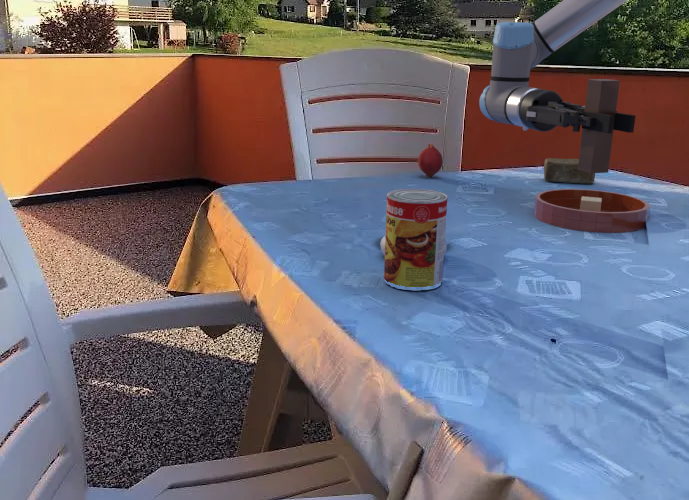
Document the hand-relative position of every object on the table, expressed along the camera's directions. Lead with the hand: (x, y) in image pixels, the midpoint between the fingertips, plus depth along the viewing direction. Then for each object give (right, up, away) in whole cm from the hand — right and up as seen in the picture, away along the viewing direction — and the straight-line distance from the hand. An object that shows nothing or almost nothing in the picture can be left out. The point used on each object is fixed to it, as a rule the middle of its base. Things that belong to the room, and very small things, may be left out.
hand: (621, 124), depth 112 cm
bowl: (+1, -15, +17) cm, 23 cm away
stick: (-2, -7, +7) cm, 10 cm away
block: (+1, -14, +18) cm, 23 cm away
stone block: (+8, -4, +54) cm, 54 cm away
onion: (-24, -3, +56) cm, 61 cm away
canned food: (-35, -24, -16) cm, 45 cm away
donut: (-34, -21, -5) cm, 40 cm away
